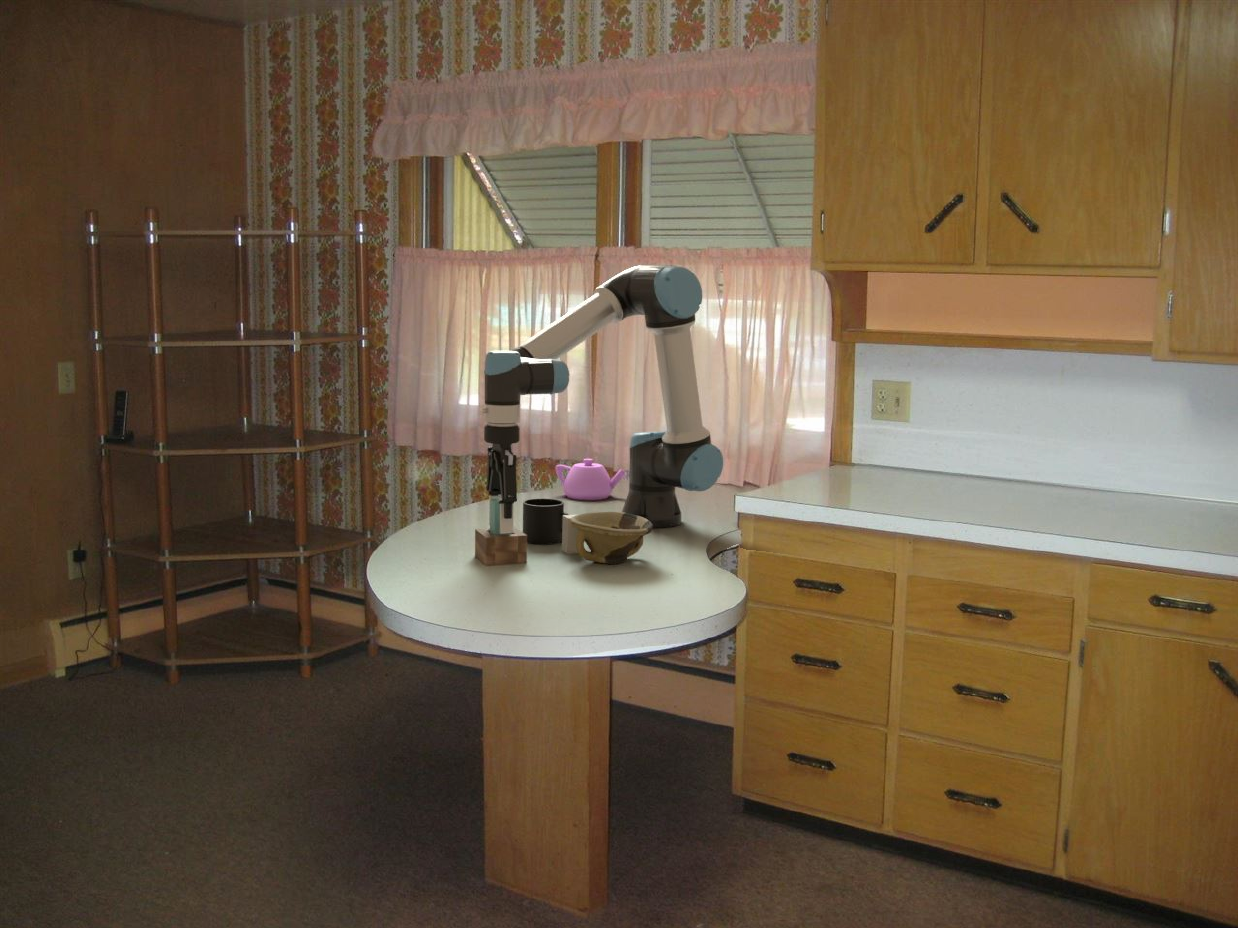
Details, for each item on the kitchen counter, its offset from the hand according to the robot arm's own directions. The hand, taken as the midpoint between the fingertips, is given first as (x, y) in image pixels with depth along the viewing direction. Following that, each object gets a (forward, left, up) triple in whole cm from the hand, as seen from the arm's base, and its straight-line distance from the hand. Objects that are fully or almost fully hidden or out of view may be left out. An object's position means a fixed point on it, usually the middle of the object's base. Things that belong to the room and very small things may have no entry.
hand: (500, 528), depth 260 cm
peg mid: (-18, -3, -7) cm, 19 cm away
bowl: (-22, +8, -7) cm, 25 cm away
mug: (-16, -15, -7) cm, 23 cm away
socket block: (0, 0, -7) cm, 7 cm away
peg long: (0, 0, -7) cm, 7 cm away
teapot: (-45, -65, -7) cm, 79 cm away
